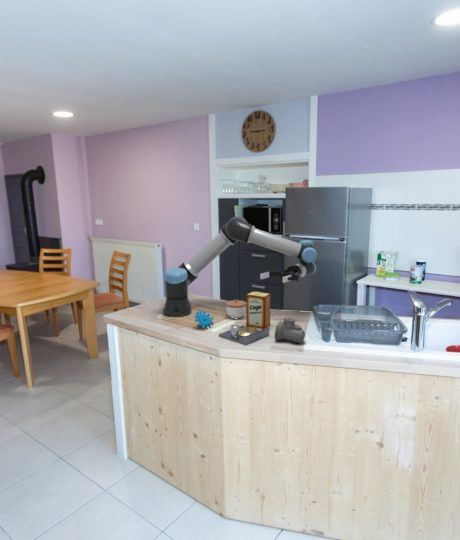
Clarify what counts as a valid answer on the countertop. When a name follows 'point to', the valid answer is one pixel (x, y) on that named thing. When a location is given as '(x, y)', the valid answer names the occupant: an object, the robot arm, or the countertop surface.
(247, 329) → the carrier plate
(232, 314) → the lidded jar
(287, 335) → the pipe fitting
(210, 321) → the gear
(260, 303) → the baking soda box
